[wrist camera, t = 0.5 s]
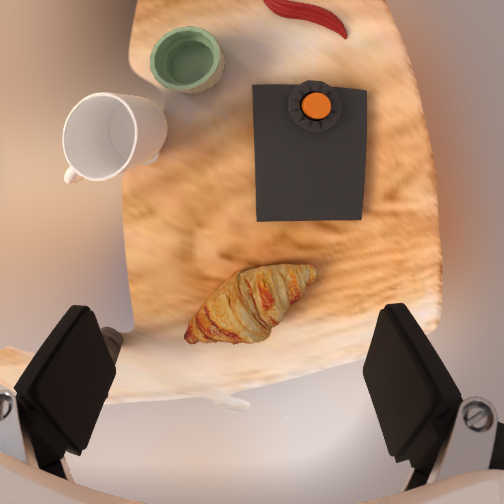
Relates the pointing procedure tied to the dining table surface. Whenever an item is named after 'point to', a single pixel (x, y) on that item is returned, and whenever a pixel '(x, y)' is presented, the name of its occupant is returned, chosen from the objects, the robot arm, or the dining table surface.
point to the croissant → (249, 304)
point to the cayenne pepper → (307, 14)
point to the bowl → (187, 60)
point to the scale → (309, 153)
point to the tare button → (316, 105)
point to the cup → (111, 135)
